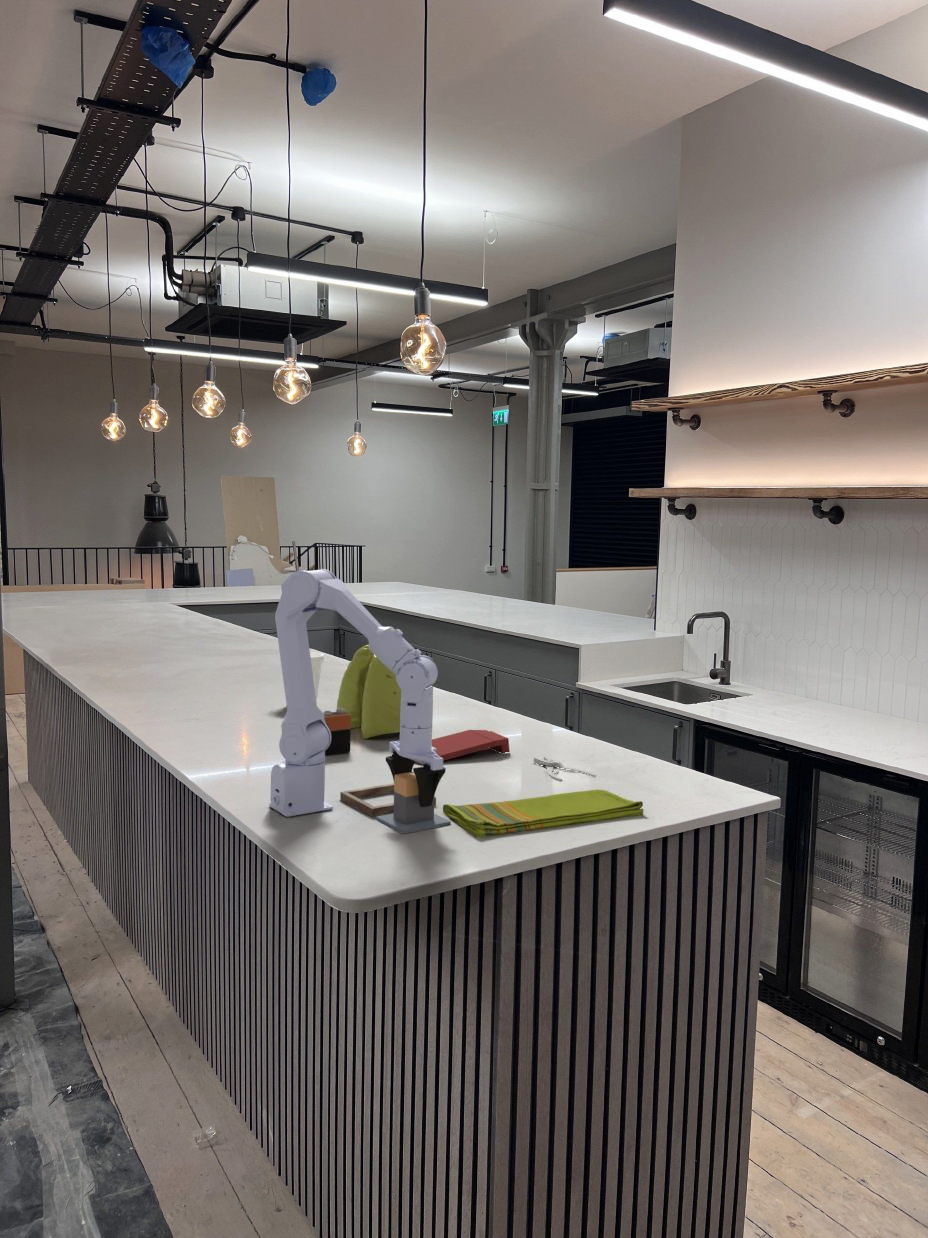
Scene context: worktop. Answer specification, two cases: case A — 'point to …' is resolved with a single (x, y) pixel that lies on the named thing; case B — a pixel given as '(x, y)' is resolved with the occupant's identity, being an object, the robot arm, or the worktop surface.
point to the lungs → (370, 695)
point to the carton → (468, 743)
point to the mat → (414, 826)
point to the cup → (316, 668)
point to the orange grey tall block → (409, 801)
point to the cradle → (354, 795)
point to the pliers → (551, 763)
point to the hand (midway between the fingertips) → (413, 800)
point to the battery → (338, 731)
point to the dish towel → (541, 812)
